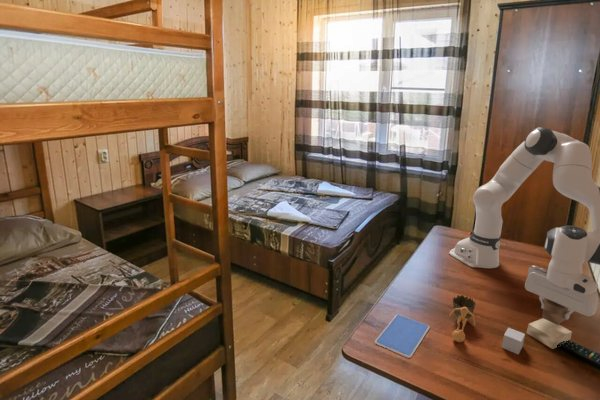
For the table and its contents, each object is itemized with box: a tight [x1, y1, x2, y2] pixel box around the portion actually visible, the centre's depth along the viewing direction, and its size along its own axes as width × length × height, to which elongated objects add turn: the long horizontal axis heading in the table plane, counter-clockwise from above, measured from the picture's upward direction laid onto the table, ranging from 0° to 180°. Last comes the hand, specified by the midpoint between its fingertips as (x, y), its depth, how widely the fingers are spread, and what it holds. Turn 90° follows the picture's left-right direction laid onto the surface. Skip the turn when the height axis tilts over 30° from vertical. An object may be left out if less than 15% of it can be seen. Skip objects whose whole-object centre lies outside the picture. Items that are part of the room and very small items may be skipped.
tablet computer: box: [374, 314, 430, 359], centre depth 131 cm, size 19×13×1 cm, turn 144°
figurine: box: [448, 307, 476, 343], centre depth 127 cm, size 8×6×12 cm
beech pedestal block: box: [526, 317, 573, 350], centre depth 129 cm, size 9×9×4 cm
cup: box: [452, 295, 477, 323], centre depth 138 cm, size 8×7×8 cm
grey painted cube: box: [501, 327, 526, 355], centre depth 124 cm, size 5×5×5 cm
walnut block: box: [541, 299, 568, 325], centre depth 126 cm, size 5×5×6 cm
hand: (554, 313), depth 127 cm, fingers closed on walnut block, 5 cm apart
